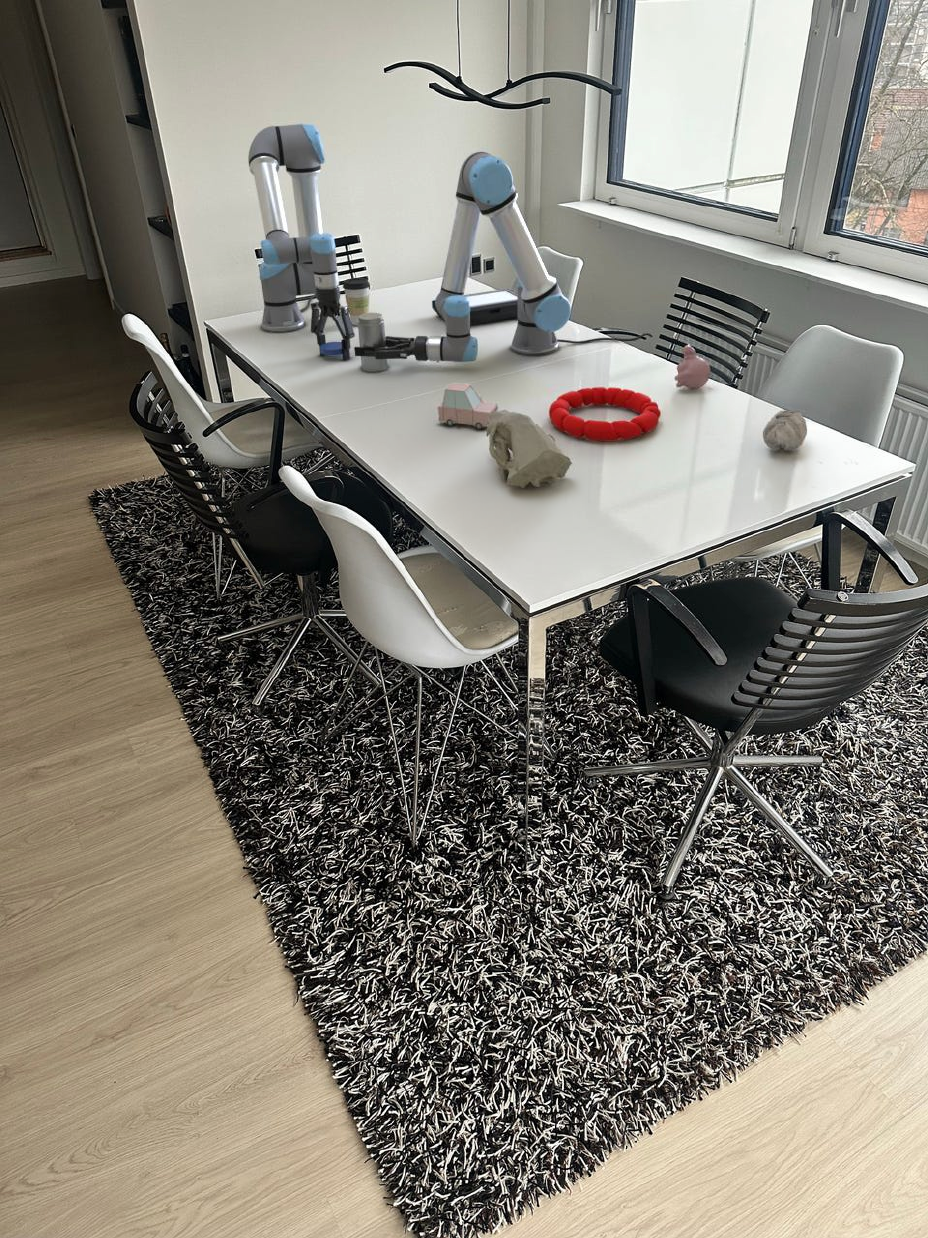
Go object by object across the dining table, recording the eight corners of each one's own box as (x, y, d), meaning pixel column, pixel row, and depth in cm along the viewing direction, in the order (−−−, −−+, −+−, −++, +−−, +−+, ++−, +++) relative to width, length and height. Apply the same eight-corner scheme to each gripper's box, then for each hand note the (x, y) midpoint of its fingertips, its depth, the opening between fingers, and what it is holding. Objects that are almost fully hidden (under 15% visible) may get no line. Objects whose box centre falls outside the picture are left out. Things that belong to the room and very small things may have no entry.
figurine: (665, 387, 264) (669, 347, 257) (693, 380, 268) (698, 340, 261) (686, 396, 257) (690, 355, 250) (714, 388, 262) (720, 348, 255)
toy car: (488, 432, 240) (488, 396, 234) (436, 426, 244) (434, 390, 239) (499, 419, 247) (499, 384, 241) (448, 413, 252) (447, 379, 246)
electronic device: (453, 311, 314) (431, 298, 329) (454, 329, 317) (432, 315, 332) (533, 299, 324) (509, 286, 339) (533, 316, 327) (509, 303, 342)
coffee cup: (372, 326, 323) (368, 283, 314) (345, 327, 323) (340, 284, 315) (374, 318, 331) (371, 276, 322) (348, 319, 331) (344, 277, 323)
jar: (392, 368, 285) (388, 316, 276) (370, 373, 282) (365, 321, 272) (379, 361, 291) (374, 310, 282) (357, 367, 287) (352, 315, 278)
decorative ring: (589, 435, 224) (684, 402, 234) (527, 398, 247) (617, 369, 256) (589, 461, 229) (683, 427, 238) (529, 422, 251) (617, 393, 260)
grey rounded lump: (746, 448, 227) (752, 410, 221) (789, 435, 232) (796, 398, 227) (776, 462, 219) (783, 424, 213) (820, 449, 225) (828, 411, 219)
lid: (326, 346, 300) (325, 340, 299) (352, 347, 298) (351, 342, 297) (316, 354, 292) (315, 349, 291) (342, 356, 290) (342, 350, 289)
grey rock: (496, 517, 219) (521, 479, 201) (463, 429, 225) (484, 384, 207) (557, 503, 225) (586, 465, 206) (523, 417, 231) (549, 373, 212)
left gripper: (293, 285, 286) (302, 355, 298) (347, 293, 276) (354, 364, 289) (308, 280, 291) (316, 349, 304) (361, 287, 281) (368, 358, 294)
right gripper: (422, 371, 274) (351, 369, 277) (435, 349, 291) (367, 348, 294) (421, 347, 269) (348, 345, 273) (434, 326, 286) (365, 325, 290)
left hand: (335, 356), depth 296 cm, fingers closed on lid, 9 cm apart
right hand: (358, 346), depth 283 cm, fingers closed on jar, 8 cm apart
